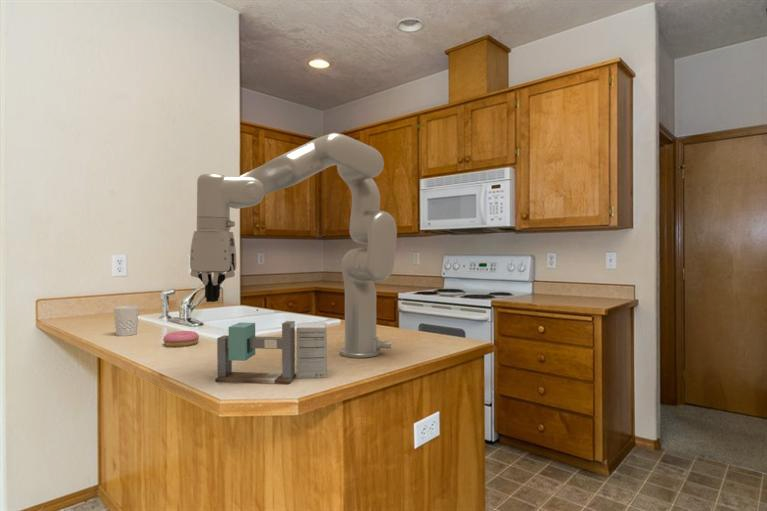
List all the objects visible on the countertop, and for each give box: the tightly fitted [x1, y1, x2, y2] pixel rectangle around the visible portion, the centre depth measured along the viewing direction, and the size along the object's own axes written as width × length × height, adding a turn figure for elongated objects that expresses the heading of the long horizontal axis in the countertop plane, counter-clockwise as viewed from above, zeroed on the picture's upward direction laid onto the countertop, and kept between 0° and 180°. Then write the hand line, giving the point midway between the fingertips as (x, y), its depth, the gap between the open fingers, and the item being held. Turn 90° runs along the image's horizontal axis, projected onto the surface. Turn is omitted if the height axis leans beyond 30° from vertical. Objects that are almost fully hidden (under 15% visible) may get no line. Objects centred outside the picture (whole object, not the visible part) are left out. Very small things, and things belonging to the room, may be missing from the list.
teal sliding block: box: [228, 322, 256, 362], centre depth 114 cm, size 4×7×8 cm, turn 174°
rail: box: [216, 320, 296, 383], centre depth 114 cm, size 18×4×14 cm, turn 84°
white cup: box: [113, 305, 139, 337], centre depth 173 cm, size 8×8×10 cm
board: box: [214, 371, 297, 385], centre depth 114 cm, size 18×6×1 cm, turn 84°
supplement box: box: [296, 321, 328, 379], centre depth 119 cm, size 7×7×13 cm
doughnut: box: [162, 330, 200, 348], centre depth 156 cm, size 11×11×4 cm
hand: (212, 301), depth 115 cm, fingers closed
